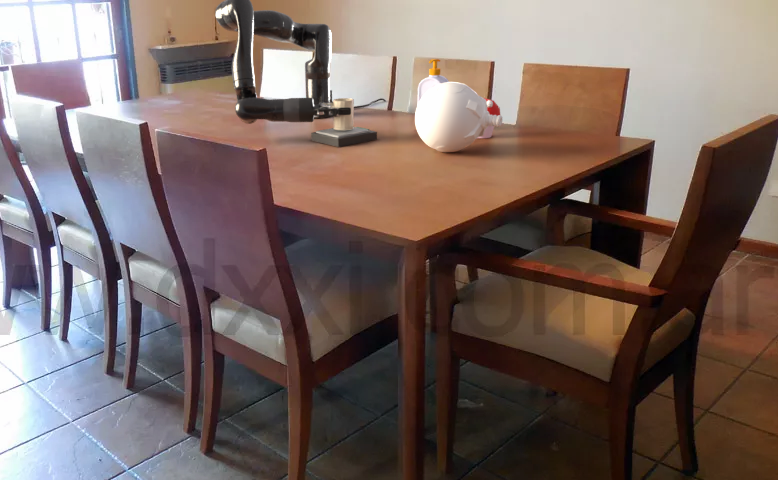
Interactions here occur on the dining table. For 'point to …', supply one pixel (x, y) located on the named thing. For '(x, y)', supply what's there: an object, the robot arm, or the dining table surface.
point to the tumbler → (344, 120)
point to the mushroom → (492, 110)
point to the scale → (343, 136)
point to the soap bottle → (430, 80)
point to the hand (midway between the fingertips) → (350, 109)
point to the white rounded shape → (452, 117)
